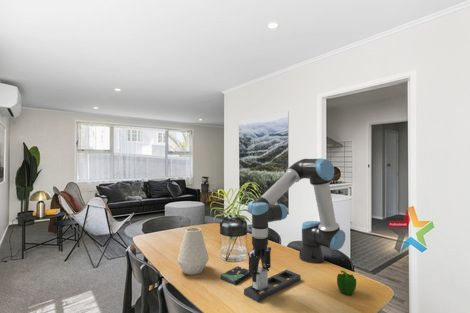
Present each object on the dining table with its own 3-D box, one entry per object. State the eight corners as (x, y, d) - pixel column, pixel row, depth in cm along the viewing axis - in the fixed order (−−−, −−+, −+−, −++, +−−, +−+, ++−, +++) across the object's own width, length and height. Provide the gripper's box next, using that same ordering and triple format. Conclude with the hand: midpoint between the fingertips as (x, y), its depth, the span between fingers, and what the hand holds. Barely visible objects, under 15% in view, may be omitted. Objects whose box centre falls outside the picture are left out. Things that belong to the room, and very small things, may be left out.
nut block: (259, 283, 125) (259, 266, 125) (267, 287, 121) (267, 269, 121) (252, 286, 121) (252, 269, 121) (260, 290, 118) (260, 273, 118)
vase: (213, 266, 152) (213, 226, 152) (201, 279, 135) (201, 235, 135) (185, 262, 157) (186, 224, 157) (171, 275, 140) (171, 232, 140)
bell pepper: (358, 292, 123) (358, 270, 123) (353, 299, 117) (353, 276, 117) (340, 286, 129) (340, 266, 129) (334, 292, 122) (334, 271, 122)
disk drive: (237, 270, 147) (219, 280, 136) (237, 265, 147) (220, 274, 136) (252, 276, 141) (235, 286, 129) (252, 270, 141) (235, 280, 129)
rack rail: (286, 274, 142) (286, 269, 142) (300, 280, 135) (300, 275, 135) (243, 294, 120) (243, 289, 120) (257, 302, 114) (257, 296, 114)
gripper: (266, 231, 130) (266, 277, 130) (240, 238, 118) (240, 289, 118) (278, 234, 124) (278, 283, 124) (252, 242, 112) (251, 296, 112)
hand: (259, 286), depth 121 cm, fingers closed on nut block, 5 cm apart
